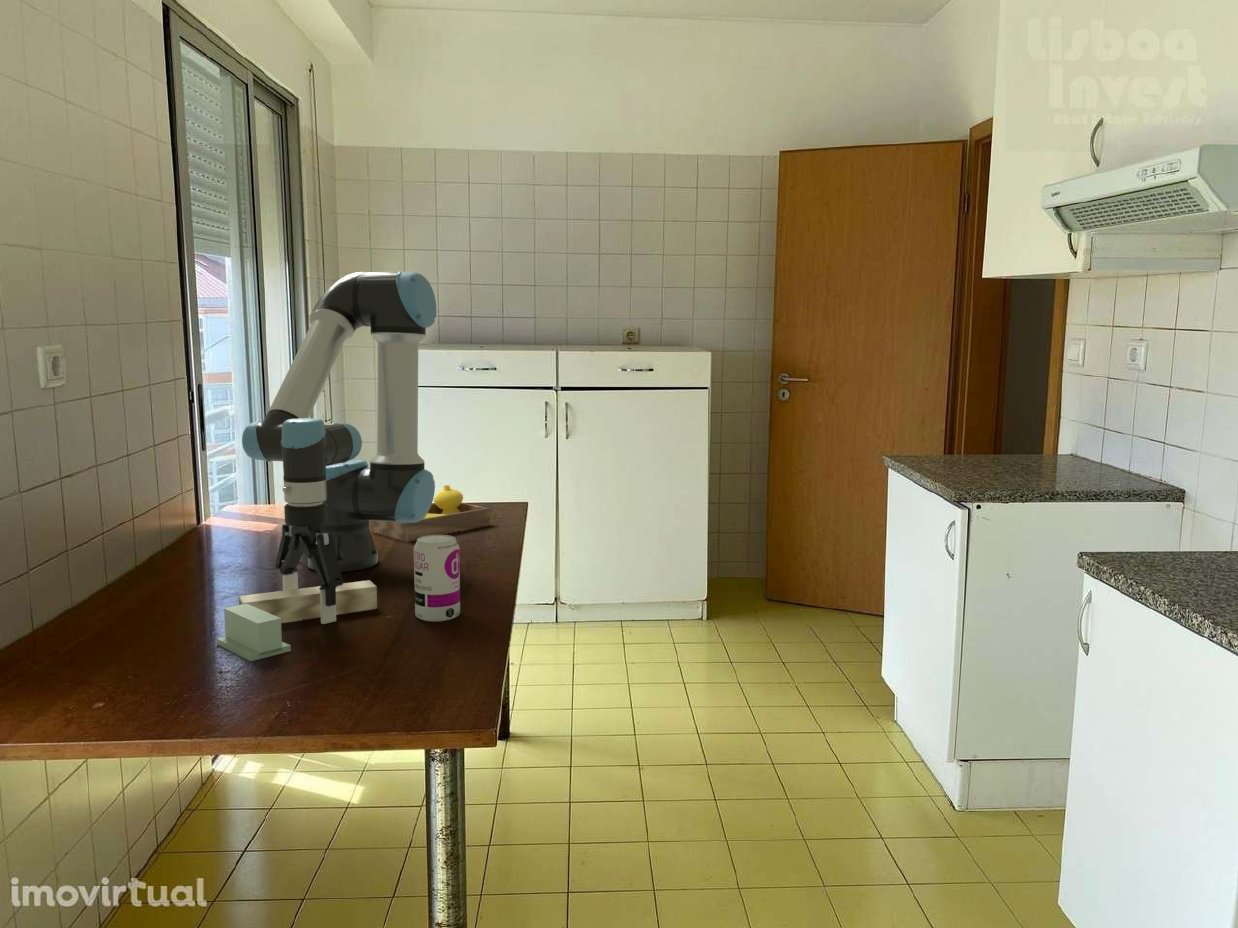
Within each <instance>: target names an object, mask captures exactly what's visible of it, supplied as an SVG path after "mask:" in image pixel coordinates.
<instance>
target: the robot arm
mask: <svg viewBox="0 0 1238 928" xmlns="http://www.w3.org/2000/svg"><path fill="white" fill-rule="evenodd" d="M435 296H436V295H435V292H434V290H433V288H432V286H431V283H430V281H429V280H428V279H427V278H426V277H425V276H424V275H422V274H421V273H418V272H411V271H382V272H381V271H380V272H379V271H375V272H374V271H371V272H367V271H360V272H359V271H357V272H353V273H350V274H347V275H345V276H344V277H342V278H340V279H339V280H337V281H336V282H334V283H333V284H332V285H331V286H330V287H329V288H328V289H327V290H325V292H324V293H323V294H322V296H320V298H319V299H318V300H317V302H316V304H315V305H314V307H313V309H312V310H311V312H310V314H309V319H308V320H309V324H310V326H309V328H308V331H307V332H306V334H305V336H304V338H303V340H302V342H301V344H300V346H299V349H298V351H296V355H295V357H294V358H293V361H292V363H291V365H290V367H289V369H288V371H287V373H286V375H285V377H284V379H283V381H282V383H281V384H280V387H279V389H278V392H276V395H275V397H274V399H273V401H272V404H271V406H270V407H269V409H268V412H267V413H266V415H265V416H264V418H263V421H259V420H258V421H257V422H256V421H255V422H254V421H253V422H250V423H249V424H248V425H246V426H245V428H244V430H243V432H242V436H241V444H242V446H241V447H242V449H243V450H244V451H243V452H244V453H245V454H246V456H247V457H249V458H250V459H252V460H258V461H262V462H263V461H264V462H267V463H268V462H282V469H283V473H282V474H283V476H282V478H283V488H282V492H283V501H284V502H285V503H286V504H285V505H284V507H283V509H284V511H283V513H284V523H285V524H282V527H281V539H280V543H279V547H278V552H277V555H276V559H275V564H274V566H275V569H276V570H279V572H280V575H281V576H282V591H285V590H293V589H299V578H298V576H299V574H298V571H299V570H298V568H297V566H298V565H299V562H300V561H301V559H302V556H303V554H304V555H306V557H307V566H308V568H309V569H311V570H314V571H315V573H316V575H317V577H318V579H319V582H320V584H321V585H320V586H321V587H320V588H319V589H320V611H321V617H320V624H321V625H325V624H330V623H333V622H337V615H336V587H337V586H340V585H343V583H344V580H343V577H342V576H343V575H342V572H343V573H344V572H352V571H353V572H355V571H360V570H365V569H368V568H371V567H374V566H376V565H377V564H378V563H379V557H378V556H379V553H378V550H377V546H376V545H375V542H374V539H373V537H372V533H371V530H370V522H371V521H388V522H397V523H415V522H418V521H420V520H422V519H423V518H424V517H425V516H426V514H427V513H428V511H429V509H430V507H431V505H432V504H433V503H434V497H435V491H436V484H435V483H436V482H435V479H434V474H433V473H432V472H431V471H429V470H427V469H425V460H424V459H423V458H422V457H421V456H420V455H419V453H418V452H419V451H418V450H419V449H418V448H419V446H418V445H419V444H418V443H419V442H418V440H419V439H418V438H419V437H418V436H419V424H418V423H419V422H418V421H419V344H420V342H421V341H423V339H424V338H426V335H427V334H426V333H427V332H426V330H427V329H428V328H430V327H432V326H433V325H434V324H435V322H436V320H435V319H436V317H437V301H436V297H435ZM361 327H370V335H371V337H372V338H373V339H374V340H375V341H376V343H377V416H376V417H377V428H376V429H377V431H376V433H377V434H376V435H377V437H376V438H377V441H376V443H377V445H376V449H377V452H376V454H375V455H374V457H373V456H372V459H370V462H369V464H368V462H367V460H365V459H364V460H363V459H356V460H354V459H355V458H356V457H357V456H358V455H359V454H360V452H361V450H362V446H363V439H362V436H361V434H360V431H358V429H357V428H356V427H355V426H353V425H352V424H350V423H349V424H348V423H338V422H336V423H334V424H325V423H324V421H323V420H322V419H319V418H312V417H311V418H310V416H311V414H312V411H313V409H314V407H315V405H316V403H317V401H318V398H319V397H320V394H321V392H322V390H323V388H324V387H325V384H326V381H327V379H328V377H329V375H330V373H331V370H332V369H333V367H334V364H335V362H336V360H337V358H338V356H339V354H340V352H341V349H342V347H343V346H344V343H345V341H348V340H350V339H352V337H353V335H354V333H355V331H356V330H357V329H359V328H361ZM426 328H427V329H426ZM369 466H370V467H369Z"/></svg>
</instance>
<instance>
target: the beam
mask: <svg viewBox="0 0 1238 928" xmlns="http://www.w3.org/2000/svg"><path fill="white" fill-rule="evenodd" d="M320 587H321V585H319V586H313V587H312V586H311V587H302V588H298V589H293V590H285V591H283V590H277V591H271V592H270V591H269V592H261V593H253V594H246V595H239V596H238V605H242V604H249V605H251V606H253V607H256V608H258V609H261V610H263V611H265V612H268V613H270V614H272V615H275V616H277V617H279V618H281V624H286V623H291V622H299V621H306V620H311V619H318V618H321V611H320V589H319V588H320ZM377 593H378V587H377V585H376V584H374V582H373V581H371V580H370V579H369V580H361V581H353V582H352V581H351V582H343V585H340V586H337V587H336V616H337V615H344V614H345V615H346V614H350V613H356V612H363V611H365V612H366V611H370V610H376V609H378V594H377ZM303 619H304V620H303ZM305 619H306V620H305Z"/></svg>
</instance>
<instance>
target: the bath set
mask: <svg viewBox="0 0 1238 928" xmlns="http://www.w3.org/2000/svg"><path fill="white" fill-rule="evenodd" d="M442 487H443V489H442V490H440V491H438V493H437V494H436V495H434V498H433V504H434V503H435V504H436V506H438V507H439V508H440V509H443V511H442V513H441V514H426V516H425V517H424V518H430V517H436V516H442V515H447V514H453V513H459V512H461V511H460V510H459V509H458V508H457V507H458V506H459V505H460V504H461V503H463V499H464V495H463V493H462V492H461V491H459V490H457V489H454V488H451V486H450V484H446V485H443V486H442ZM424 518H423V519H424Z"/></svg>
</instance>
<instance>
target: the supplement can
mask: <svg viewBox="0 0 1238 928" xmlns="http://www.w3.org/2000/svg"><path fill="white" fill-rule="evenodd" d="M413 569H414V570H413V573H414V574H413V579H414V581H413V582H414V607H415V608H414V615H415V617H416V618H418V619H419V620H422V621H425V622H444V621H449V620H453V619H455V618H457V617H458V616H459V615H460V614H461V589H460V588H461V584H460V583H461V579H460V577H461V574H460V573H461V572H460V545H459V543H458V541H457V539H456V537H455V536H453V535H450V534H445V535H428V536H422V537H420V538H418V539H417V540H416V542H415V545H414V546H413Z"/></svg>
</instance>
